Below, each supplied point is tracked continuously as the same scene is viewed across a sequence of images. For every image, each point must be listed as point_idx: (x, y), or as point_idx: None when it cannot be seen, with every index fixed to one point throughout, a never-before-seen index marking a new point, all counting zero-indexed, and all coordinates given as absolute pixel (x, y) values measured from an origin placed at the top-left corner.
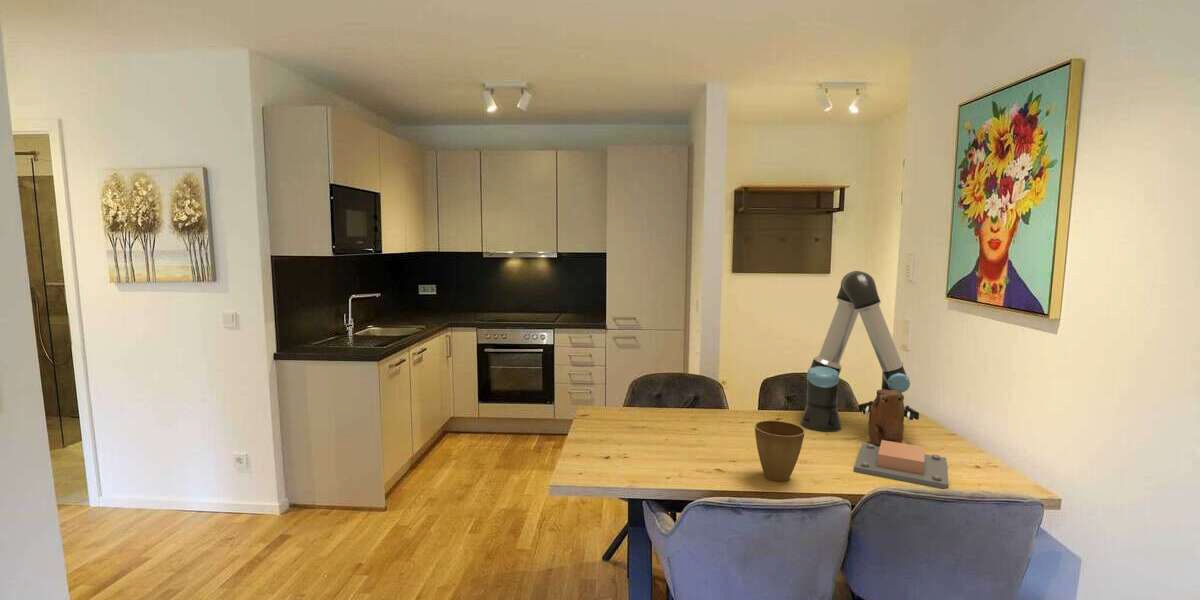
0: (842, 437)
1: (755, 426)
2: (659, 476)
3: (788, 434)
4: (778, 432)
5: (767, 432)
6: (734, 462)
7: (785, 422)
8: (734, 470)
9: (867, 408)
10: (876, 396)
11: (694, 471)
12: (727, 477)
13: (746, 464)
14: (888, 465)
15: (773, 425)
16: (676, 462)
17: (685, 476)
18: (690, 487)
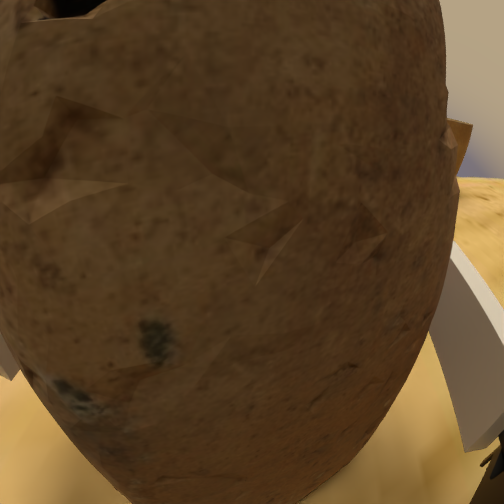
0: (480, 449)
1: (459, 121)
2: (496, 187)
3: None
4: (456, 141)
5: (466, 143)
6: (494, 212)
7: (450, 120)
8: (473, 199)
9: (482, 294)
10: (442, 79)
11: (492, 194)
12: (462, 189)
13: (481, 210)
14: None
15: (464, 131)
16: None
17: (485, 188)
18: (463, 178)
